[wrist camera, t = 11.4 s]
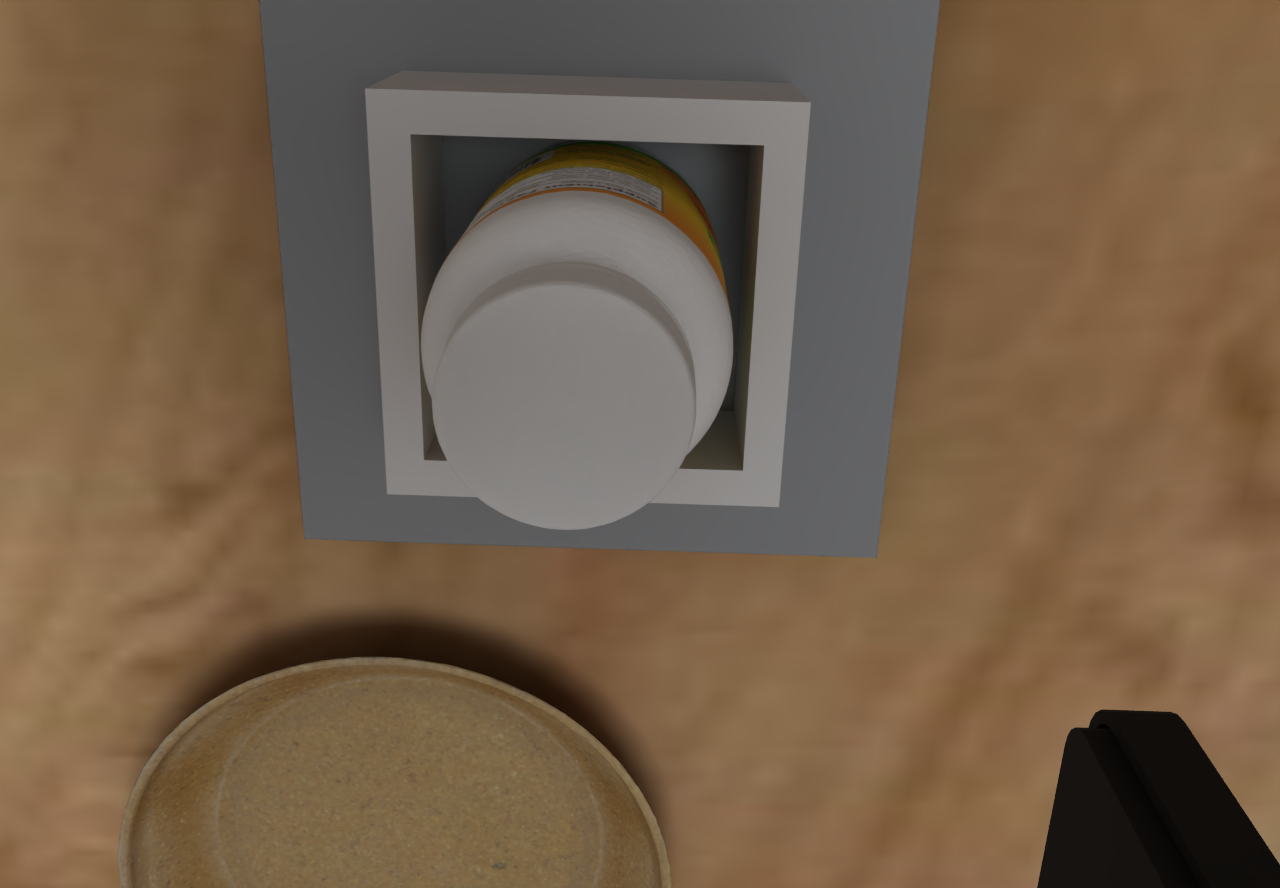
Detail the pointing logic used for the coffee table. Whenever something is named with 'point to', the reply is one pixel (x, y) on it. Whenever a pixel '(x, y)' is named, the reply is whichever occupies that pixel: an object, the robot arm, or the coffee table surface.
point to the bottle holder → (651, 121)
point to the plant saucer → (386, 789)
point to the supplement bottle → (578, 336)
